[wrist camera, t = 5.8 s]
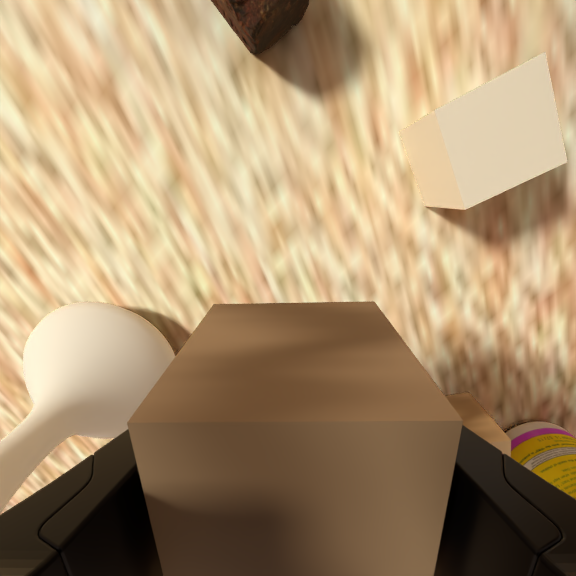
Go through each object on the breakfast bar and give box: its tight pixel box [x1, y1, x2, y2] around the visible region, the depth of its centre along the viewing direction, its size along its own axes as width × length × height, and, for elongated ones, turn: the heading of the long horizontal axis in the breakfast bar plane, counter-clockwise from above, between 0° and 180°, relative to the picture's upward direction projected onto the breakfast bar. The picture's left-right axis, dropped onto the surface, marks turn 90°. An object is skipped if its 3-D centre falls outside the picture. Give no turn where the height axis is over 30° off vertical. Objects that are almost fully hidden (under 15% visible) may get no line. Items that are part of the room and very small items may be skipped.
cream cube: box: [399, 52, 567, 210], centre depth 16 cm, size 5×5×5 cm
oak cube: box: [445, 392, 511, 457], centre depth 23 cm, size 5×5×5 cm
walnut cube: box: [127, 302, 463, 576], centre depth 7 cm, size 5×5×5 cm
